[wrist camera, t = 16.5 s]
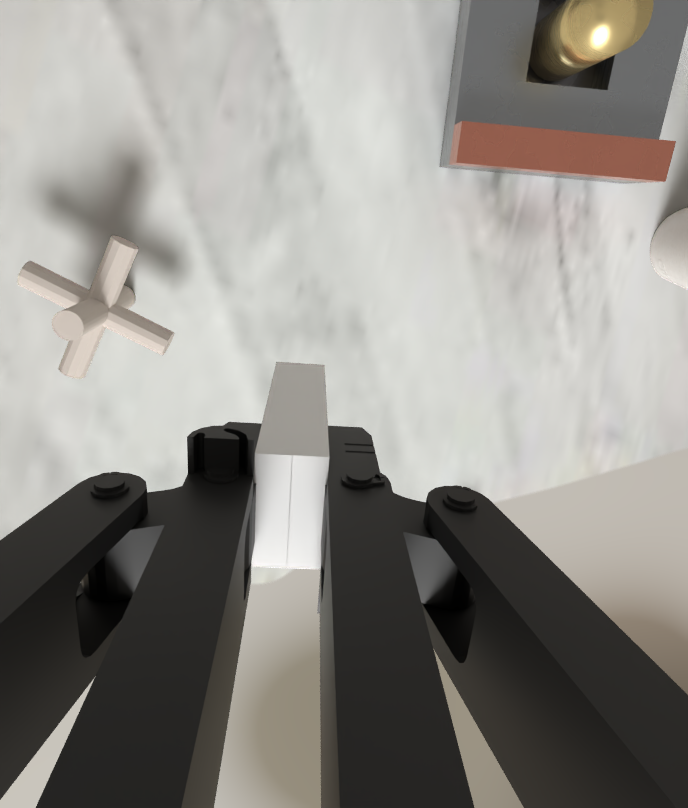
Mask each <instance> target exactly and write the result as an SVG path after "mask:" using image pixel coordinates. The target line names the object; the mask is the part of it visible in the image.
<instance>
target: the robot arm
mask: <svg viewBox="0 0 688 808" xmlns="http://www.w3.org/2000/svg"><path fill="white" fill-rule="evenodd" d="M187 447H188V475H187V477H186V479H185V482H184V484H183V486H181V487H178V488H175V489H170V490H164V491H157V492H148V493H147V487H146V481H144V480H143V479H142V478H141V477H139V476H136V475H133V474H129V473H120V472H111V473H102V474H100V475H98V476H94V477H90V478H88V479H86V480H84V481H82V482H80V483H79V484H77V485H76V486H74V487H73V488H72V489H70V490H69V491H68V492H66V493H65V494H63V495H62V496H61V497H59V498H58V499H57V500H55V501H54V502H52V503H51V504H50V505H48V506H47V507H46V508H44V509H43V510H41V511H40V512H39V513H37V514H36V515H35V516H33V517H32V518H30V519H29V520H28V521H26V522H25V523H24V524H22V525H21V526H19V527H18V528H17V529H15V530H14V531H13V532H11V533H10V534H8V535H7V536H6V537H4V538H3V539H2V540H0V799H1V798H2V797H3V795H4V794H5V793H6V792H7V790H8V789H9V788H10V786H11V785H12V784H13V783H14V781H15V780H16V779H17V777H18V776H19V775H20V773H21V772H22V771H23V770H24V768H25V767H26V766H27V764H28V763H29V762H30V760H31V759H32V758H33V756H34V755H35V754H36V753H37V751H38V750H39V749H40V747H41V746H42V745H43V744H44V742H45V741H46V739H47V738H48V737H49V736H50V734H51V733H52V732H53V731H54V729H55V728H56V727H57V725H58V724H59V723H60V721H61V720H62V719H63V718H64V716H65V715H66V714H67V712H68V711H69V710H70V708H71V707H72V706H73V705H74V703H75V702H76V701H77V699H78V698H79V697H80V696H81V694H82V693H83V692H84V690H85V689H86V688H87V686H88V685H89V684H90V683H91V681H92V680H93V679H94V677H95V676H96V677H95V679H94V681H93V683H92V686H91V688H90V690H89V692H88V694H87V697H86V699H85V701H84V703H83V705H82V708H81V710H80V712H79V714H78V716H77V718H76V721H75V723H74V725H73V727H72V729H71V732H70V734H69V736H68V738H67V740H66V743H65V745H64V747H63V749H62V751H61V754H60V756H59V758H58V760H57V762H56V765H55V767H54V769H53V771H52V773H51V775H50V778H49V780H48V782H47V784H46V786H45V789H44V791H43V793H42V795H41V797H40V800H39V802H38V804H37V806H36V808H214V803H215V796H216V791H217V784H218V779H219V772H220V766H221V760H222V754H223V748H224V742H225V736H226V730H227V723H228V718H229V712H230V705H231V699H232V693H233V687H234V681H235V675H236V669H237V663H238V656H239V650H240V644H241V638H242V632H243V626H244V620H245V613H246V608H247V602H248V596H249V590H250V583H251V560H252V567H268V568H297V569H321V572H320V586H319V598H318V599H319V600H318V612H317V613H320V702H321V703H320V706H321V707H320V709H321V808H474V805H473V801H472V797H471V793H470V789H469V786H468V781H467V777H466V774H465V770H464V766H463V762H462V758H461V754H460V751H459V746H458V743H457V739H456V735H455V731H454V727H453V723H452V719H451V715H450V712H449V708H448V704H447V700H446V696H445V692H444V688H443V685H442V681H441V677H440V673H439V669H438V665H437V662H436V657H435V654H434V650H435V652H436V653H437V655H438V657H439V659H440V661H441V662H442V664H443V666H444V668H445V669H446V671H447V673H448V675H449V677H450V678H451V680H452V682H453V684H454V685H455V687H456V689H457V691H458V692H459V694H460V696H461V698H462V699H463V701H464V703H465V705H466V706H467V708H468V710H469V712H470V713H471V715H472V717H473V719H474V720H475V722H476V724H477V726H478V728H479V729H480V731H481V733H482V734H483V736H484V738H485V740H486V742H487V743H488V745H489V747H490V749H491V750H492V752H493V754H494V756H495V757H496V759H497V761H498V763H499V764H500V766H501V768H502V770H503V771H504V773H505V775H506V777H507V779H508V780H509V782H510V784H511V785H512V787H513V789H514V791H515V793H516V794H517V796H518V798H519V800H520V801H521V803H522V805H523V807H524V808H688V695H687V694H686V693H685V692H684V691H683V690H682V689H681V688H680V687H679V686H678V685H677V684H676V683H675V682H674V681H673V680H672V679H671V678H670V677H669V676H668V675H667V674H666V673H665V672H664V671H663V670H662V669H661V668H660V667H659V666H658V665H657V664H656V663H655V662H654V661H653V660H652V659H651V658H650V657H649V656H648V655H647V654H646V653H645V652H644V651H643V650H642V649H641V648H640V647H639V646H638V645H636V644H635V643H634V642H633V641H632V640H631V639H630V638H629V637H628V636H627V635H626V634H625V633H624V632H623V631H622V630H621V629H620V628H619V627H618V626H617V625H616V624H615V623H614V622H613V621H612V620H611V619H610V618H609V617H608V616H607V615H606V614H605V613H604V612H603V611H602V610H601V609H600V608H599V607H598V606H597V605H595V603H593V601H592V600H591V599H590V598H589V597H588V596H586V594H585V593H584V592H583V591H582V590H580V588H578V586H576V585H575V584H574V583H573V582H572V581H571V580H570V579H569V578H568V577H567V576H566V575H565V574H564V573H563V572H562V571H561V570H560V569H559V568H558V567H557V566H556V565H555V564H554V563H553V562H552V561H551V560H550V559H549V558H548V557H547V556H546V555H545V554H544V553H543V552H542V551H541V550H540V549H539V548H538V547H537V546H536V545H535V544H534V543H533V542H531V540H530V539H528V537H527V536H526V535H525V534H524V533H523V532H522V531H520V529H518V528H517V527H516V526H515V525H514V524H513V523H512V522H511V521H510V520H509V519H508V518H507V517H506V516H505V515H504V514H503V513H502V512H501V511H500V510H499V509H498V508H497V507H496V506H495V505H494V504H493V503H492V502H491V501H490V500H489V499H488V498H486V497H485V496H483V495H482V494H481V493H478V492H476V491H473V490H471V489H470V488H467V487H462V486H443V487H438V488H435V489H433V490H431V491H430V492H429V493H428V496H427V500H426V503H425V502H420V501H416V500H412V499H408V498H405V497H402V496H399V495H397V494H395V493H393V491H392V487H391V483H390V481H389V480H388V478H387V477H386V476H385V475H383V474H382V473H380V470H379V466H378V462H377V458H376V454H375V449H374V446H373V441H372V436H371V435H370V434H369V433H368V432H366V431H365V430H364V429H363V428H360V427H341V426H328V421H327V403H326V385H325V366H324V365H317V364H301V363H285V362H276V366H275V370H274V375H273V379H272V383H271V387H270V391H269V396H268V400H267V404H266V408H265V412H264V417H263V421H262V424H258V423H239V422H228V423H227V424H225V425H224V426H210V427H205V428H201V429H198V430H196V431H193V432H192V433H191V434H190V435H189V436H188V437H187ZM80 582H81V583H80ZM433 648H434V650H433Z"/></svg>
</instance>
